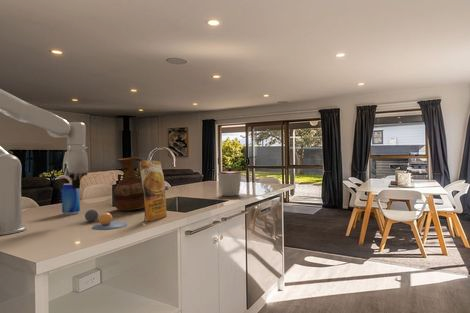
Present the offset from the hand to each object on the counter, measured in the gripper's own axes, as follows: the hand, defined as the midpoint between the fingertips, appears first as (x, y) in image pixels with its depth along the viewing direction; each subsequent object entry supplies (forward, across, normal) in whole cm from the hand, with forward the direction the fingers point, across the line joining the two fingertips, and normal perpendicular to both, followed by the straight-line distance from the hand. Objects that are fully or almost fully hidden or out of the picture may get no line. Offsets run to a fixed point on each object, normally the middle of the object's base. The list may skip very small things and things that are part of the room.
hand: (75, 188), depth 139 cm
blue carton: (+16, -12, -22) cm, 29 cm away
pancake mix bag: (+15, -21, +29) cm, 39 cm away
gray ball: (+13, -3, +7) cm, 15 cm away
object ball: (+13, -1, +20) cm, 23 cm away
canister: (+13, -107, +23) cm, 110 cm away
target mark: (+15, -1, +22) cm, 27 cm away
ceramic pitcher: (+15, -35, 0) cm, 38 cm away
